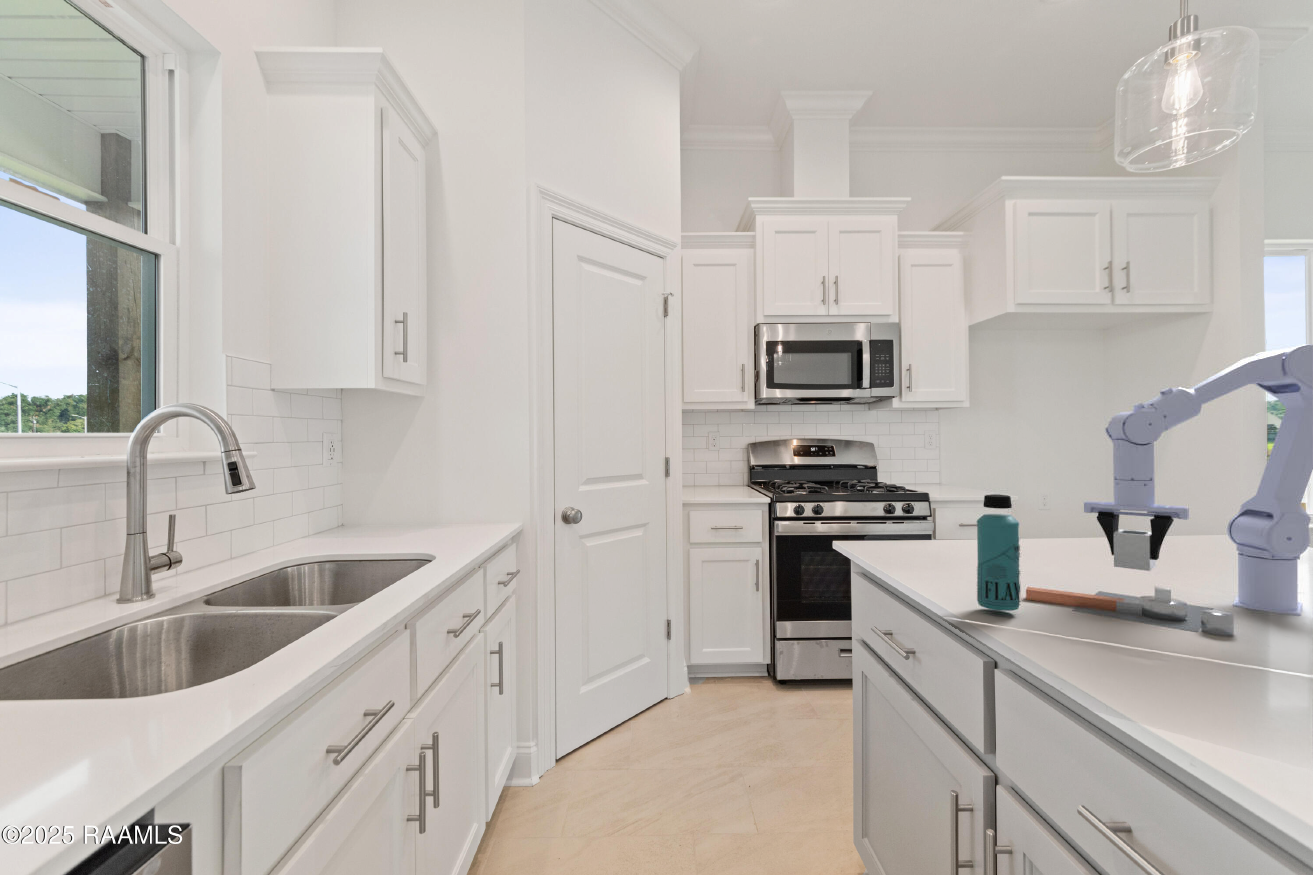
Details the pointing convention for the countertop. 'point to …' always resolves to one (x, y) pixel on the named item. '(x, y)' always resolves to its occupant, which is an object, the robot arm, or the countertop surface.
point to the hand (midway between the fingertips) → (1134, 556)
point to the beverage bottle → (998, 557)
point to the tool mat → (1189, 625)
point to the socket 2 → (1217, 623)
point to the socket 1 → (1133, 550)
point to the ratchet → (1118, 603)
